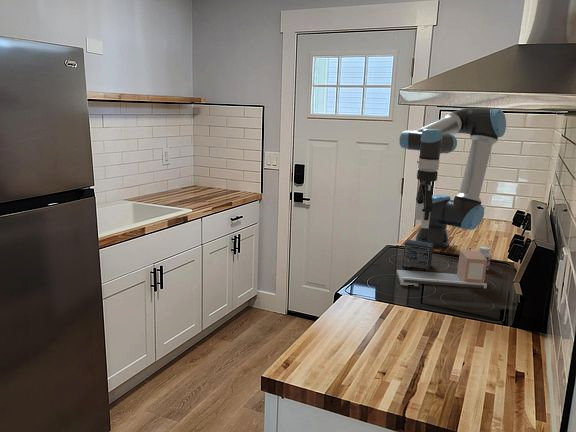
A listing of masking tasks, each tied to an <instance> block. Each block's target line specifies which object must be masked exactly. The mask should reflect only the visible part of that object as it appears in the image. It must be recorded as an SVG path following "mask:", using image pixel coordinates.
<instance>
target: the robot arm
mask: <svg viewBox="0 0 576 432" xmlns="http://www.w3.org/2000/svg"><path fill="white" fill-rule="evenodd" d="M506 130H507V118H506V114H505V112H503V110H501V109H496V108H478V107H477V108H476V107H466V108H461V109H457V110H454V111H452V112H449V113H446V114H445V115H444V116H443V117H442V118H441V119H439V120H436V121H435V122H432V123H430V124H427V125H426V126H425V125H424V126H422V127H420V128H417V129H416V130H404V131H402V132H401V133H400V135H399V141H398V143H399V146H400V147H401V148H402V149H404V150H411V151H418V152H419V155H418V160H417V161H416V163H417V164H418V165H417V168H418V170H417V173H416V179H417V180H418V181H419V184H418V189H417V193H416V198H415V200H416V208H415V217H414V219H415V220H418V221H419V220H420V221H421V222H420V227H419V229H418V230H417V232H416V235H415V239H414V241H421V242H427V243H433V249H435V248H438V249H440V248H446V247H448V246H449V242H450V241H449V236H448V232H447V227H448V226H450V227H454V228H459V229H463V230H468V231H472V230H475V229H477V228H478V227H479V225H480V224H481V223H482V220H483V218H484V216H485V215H484V214H485V207H484V206H483V205H482V199H480V195H481V191H482V188H483V183H484V180H485V176H486V172H487V168H488V164H489V160H490V157H491V152H492V149H493V148H492V147H493V145H494V144H495V143H497V142H498V139H499V138H502V137H503V136H504V135H505V134H506ZM456 134H466V135H469V138H470V139H471V145H470V149H469V153H468V157H467V161H466V165H465V169H464V173H463V177H462V181H461V185H460V189H459V192H458V193H457V194H456V195H454V198H453V199H452V198H451V196H450V195H448V194H433V190H434V186H433V184H432V182H436V181H437V180H438V170H439V167H440V157H441V154H449V153H452V152H454V151H455V150H456V148H457V146H458V140H457V138H456V136H455V135H456Z"/></svg>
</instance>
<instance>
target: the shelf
mask: <svg viewBox="0 0 576 432" xmlns="http://www.w3.org/2000/svg"><path fill="white" fill-rule="evenodd" d="M395 273H396V276H397V278H398V281H399V284H400V285H401V286H408V285H414V286H413V287H420V284H422V285H434V286H436V285H437V286H447V287H448V286H449V287H450V286H451V287H461V288H462V287H463V288H475V289H487V287H488V283H486V282H484V283H476V282H462V281H461V280H460V279H459V278H458V276H457V273H446V272H445V273H444V272H443V273H442V272H430V271H417V270H405V269H396V272H395Z"/></svg>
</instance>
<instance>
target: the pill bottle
mask: <svg viewBox="0 0 576 432" xmlns="http://www.w3.org/2000/svg"><path fill="white" fill-rule="evenodd" d="M478 251H479V252H480V253H481V254H482V255H483V256H484V257H485V258H486V259H487V266H486V271H489V269H490V264H491V258H492V254H491V253H490V252H491V248H490V247H488V246H479V248H478Z"/></svg>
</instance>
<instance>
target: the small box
mask: <svg viewBox="0 0 576 432" xmlns="http://www.w3.org/2000/svg"><path fill="white" fill-rule="evenodd" d="M433 250H434V247H433V243H427V242H421V241H415V239H414V240H413V239H407V240H406V241H405V242H404V249H403V258H402V259H403V260H402V267H401V268H404V269H409V270H412V268H418V269H424V270H430V268H431V266H432V261H433V260H432V258H433V252H434V251H433Z"/></svg>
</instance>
